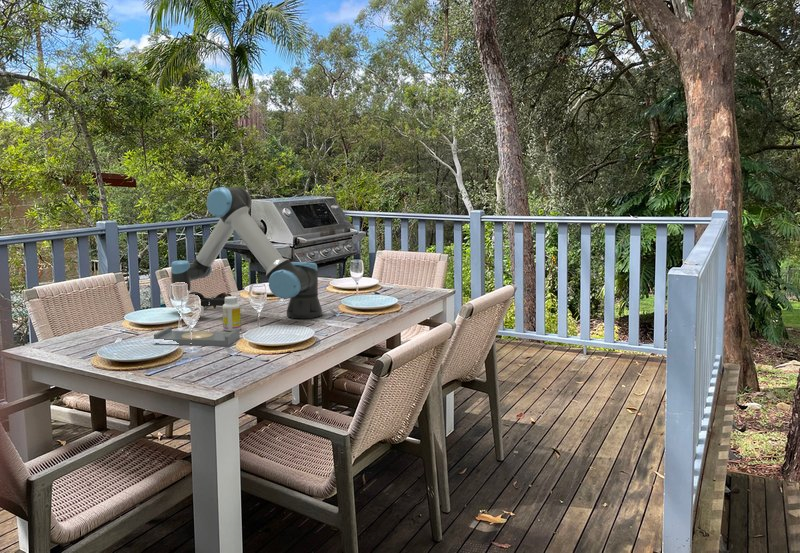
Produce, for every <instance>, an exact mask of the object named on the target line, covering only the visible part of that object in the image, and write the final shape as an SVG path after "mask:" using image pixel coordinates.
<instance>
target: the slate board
mask: <svg viewBox="0 0 800 553" xmlns="http://www.w3.org/2000/svg"><path fill="white" fill-rule="evenodd" d="M172 329H173V327H172V326H167V327H165V328H163V329H162V330H160V331H158V332H156V333H154V334H153V340H154V339H164V340H173V341H176V342H177V343H179V344H180V345H179V346H201V347H202V346H203V347H204V346H205V347H208V346H209V347H230V346H231V345H232V344H234V343H235V342H236V341H237V340H239V339H240V336H241V335H240V330H239V329H237V328H236V329H235V330H233V331H206V330H196V331H193V330H192V340H191V338H190V330H189V331H187V330H172ZM190 343H192V345H190Z"/></svg>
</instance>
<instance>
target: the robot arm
mask: <svg viewBox="0 0 800 553" xmlns="http://www.w3.org/2000/svg"><path fill="white" fill-rule="evenodd" d="M251 207H252V197H251V195H250V193H249V192H248V191H247V190H246V189H245V188H243V187H239V186H230V187H224V186H221V187H216V188H214V189H212V190H211V191H210V192H209V193H208V195H207V197H206V209H207V211H208V212H209V214H211V215H212V216H214V217H215V218H219V220H218V222H217V224H215V226H214V228H213V230H212V231H211V233H210V235H209V236H208V237H207V239H206V240H205V242H204V244H203V245H202V248H201V249H200V250H199V252H198V253H197V255H196V257H195V258H194V260H193V261H192V262H191V263H190V261H189V260H184V259H183V260H182V259H181V260H174V261H172V262H171V264H170V265H171V266H170V267H171V269H170V273H171V284H172V283H175V282H185V283H187V284H188V291H189V294H195V295H198V296H199V297H200V299H201V313H200V314H203V315H204V314H205V309H204V308H206V307H213V306H216V307H218V306H219V307H220V306H222V307H223V305H224V304H225V298H215V297H216V296H212V297H205V296H204V295H203V294H202V293H201V292H199V291H193V290H191V281H195V280H200V279H203V278H206V277H209V276H210V275H211V273H212V270H213V269H212V268H213V267H212V265H213V264H214V262H215V261H216V260H217V257H218V256H219V254H220V253H221V252H222V250H223V248H224V246H225V245H226V244H227V242H228V240H229V238H231V236H232V234H233V233H234V232H235V233H236V234H237V235H238V237H239V238H240V239H241V241H242V242H243V243H244V244H245V246H246V247H247V249H248V250H249V251H250V252H251V254H252V255H254V257H255V259H256V260H257V261H258V262H259V263H260V265H261V266H262V267H263V270H265V272H266V274H265V277H266V279H267V281H268V288H269V290H270V292H271V293H272V294H273V295H274V296H275V297H277V298H280V299H289V301H288V305H287V308H286V317H287V316H288V318H289V317H293V318H292V319H294V318H311V319H314V318H313V317H317V318H319V317H318V316H320V317H322V316H323V309H322V306H321V302H320V300H319V295H318V294H319V285H318V283H319V282H318V281H319V280H318V279H319V277H318V276H319V275H318V274H319V271H318V265H317V263H315V262H303V261H302V262H301V261H291V260H290V259H289V258H284V257H283V256H282V255H281V254H280V252H279V251H278V249H277V248H276V247H275V246H274V245H273V243H272V242H271V240H270V239H269V238H268V237H267V235H266V234H265V232H263V230H262V229H261V228H260V226H259V225H258V224H257V223H256V221H255V219H254V218H252V216H251V215H250V214H249V212H250V210H251ZM167 297H168V300H169V301H170V297H169V294H168V296H167ZM321 315H322V316H321Z"/></svg>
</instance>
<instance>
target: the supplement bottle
mask: <svg viewBox="0 0 800 553" xmlns="http://www.w3.org/2000/svg"><path fill="white" fill-rule="evenodd" d="M221 309H222V323H223V325H222V326H223V331H224V332H232V331H233V330H235V329H236V328H237V329H239V331H240V330H241V329H242V318H241V304H240V303H239V302H238V297H237V296H235V295H234V296H233V295H232V296H228V297H225V304H224V305H223V306H222V308H221Z"/></svg>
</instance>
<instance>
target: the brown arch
mask: <svg viewBox="0 0 800 553" xmlns="http://www.w3.org/2000/svg"><path fill="white" fill-rule="evenodd" d="M228 296H233V295H232V294H231V293H229V292H228V293H226V292H222V293H221V292H220V293H219V294H218V295H216V296H214V297H215V298H225V297H228ZM212 307H213V308H214V309H216V308H217V306H212Z"/></svg>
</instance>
